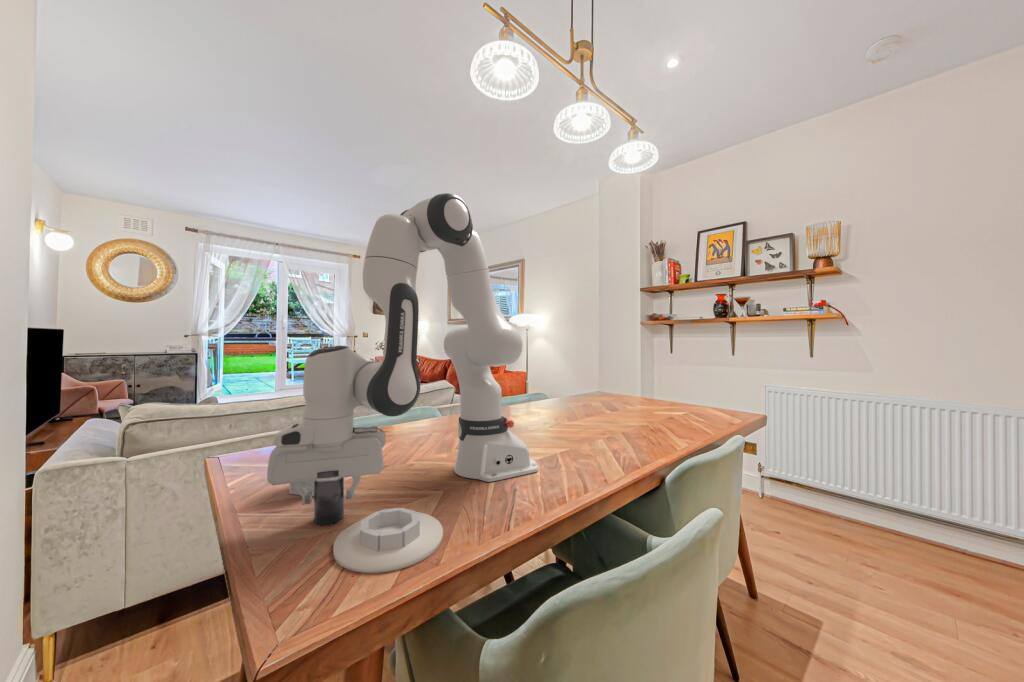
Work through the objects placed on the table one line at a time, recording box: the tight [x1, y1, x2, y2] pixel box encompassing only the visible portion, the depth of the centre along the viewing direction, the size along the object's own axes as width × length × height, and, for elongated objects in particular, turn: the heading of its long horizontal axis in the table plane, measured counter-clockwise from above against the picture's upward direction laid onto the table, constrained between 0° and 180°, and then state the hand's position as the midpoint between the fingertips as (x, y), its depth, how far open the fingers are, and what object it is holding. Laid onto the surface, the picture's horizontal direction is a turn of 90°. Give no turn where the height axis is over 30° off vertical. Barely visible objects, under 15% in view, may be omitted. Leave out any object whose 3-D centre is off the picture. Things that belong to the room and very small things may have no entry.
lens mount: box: [332, 507, 444, 574], centre depth 66 cm, size 18×18×4 cm
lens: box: [313, 470, 345, 527], centre depth 73 cm, size 5×5×10 cm
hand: (329, 500), depth 73 cm, fingers open, 6 cm apart
